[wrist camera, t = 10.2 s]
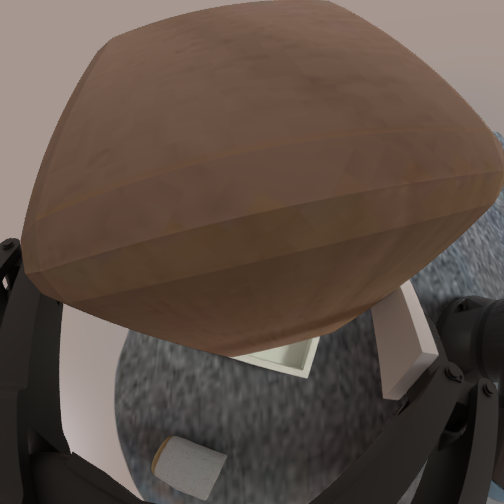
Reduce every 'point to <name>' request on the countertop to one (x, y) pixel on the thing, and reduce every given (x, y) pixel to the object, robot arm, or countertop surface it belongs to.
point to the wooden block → (253, 176)
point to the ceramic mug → (187, 466)
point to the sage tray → (286, 358)
